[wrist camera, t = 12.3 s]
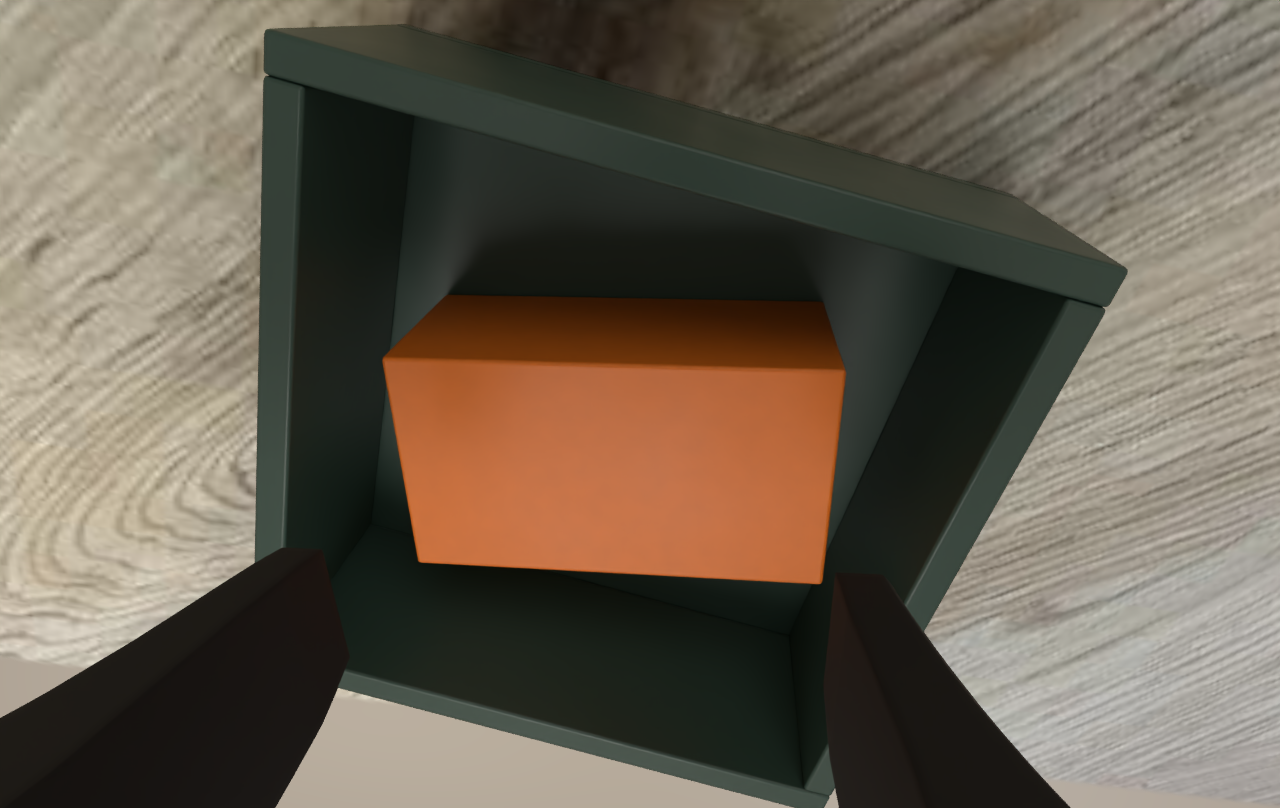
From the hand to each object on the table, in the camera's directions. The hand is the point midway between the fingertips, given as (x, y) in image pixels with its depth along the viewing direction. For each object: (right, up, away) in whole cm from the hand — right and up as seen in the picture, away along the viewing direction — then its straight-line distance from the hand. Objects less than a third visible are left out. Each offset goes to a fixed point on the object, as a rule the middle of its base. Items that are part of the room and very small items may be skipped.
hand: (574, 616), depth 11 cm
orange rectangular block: (+1, +3, +6) cm, 7 cm away
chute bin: (+1, +3, +7) cm, 8 cm away
